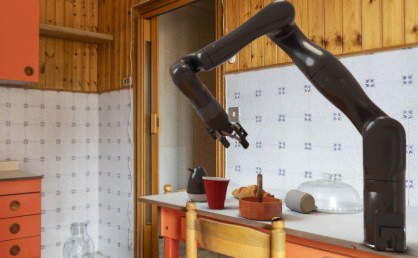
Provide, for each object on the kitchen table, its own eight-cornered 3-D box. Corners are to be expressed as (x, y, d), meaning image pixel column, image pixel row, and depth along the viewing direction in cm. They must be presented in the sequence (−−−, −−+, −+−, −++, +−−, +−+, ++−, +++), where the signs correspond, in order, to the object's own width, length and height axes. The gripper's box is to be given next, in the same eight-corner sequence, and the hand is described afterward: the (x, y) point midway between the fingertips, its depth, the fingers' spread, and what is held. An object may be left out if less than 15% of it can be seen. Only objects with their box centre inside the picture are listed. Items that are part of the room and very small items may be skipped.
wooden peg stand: (268, 217, 136) (267, 174, 136) (252, 216, 138) (251, 174, 138) (267, 213, 141) (267, 173, 141) (252, 213, 143) (252, 172, 143)
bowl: (283, 222, 131) (283, 204, 131) (238, 219, 135) (238, 201, 135) (280, 213, 144) (280, 197, 144) (239, 211, 148) (239, 195, 148)
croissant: (228, 205, 180) (222, 190, 178) (239, 192, 186) (234, 177, 183) (271, 211, 164) (265, 194, 161) (282, 197, 169) (277, 181, 167)
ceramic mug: (301, 214, 142) (301, 192, 142) (284, 210, 150) (284, 189, 150) (323, 212, 146) (323, 191, 146) (305, 208, 154) (305, 188, 154)
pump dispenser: (181, 200, 174) (181, 165, 174) (201, 198, 179) (201, 164, 179) (194, 203, 165) (194, 166, 165) (215, 201, 169) (215, 165, 169)
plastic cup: (236, 209, 153) (236, 177, 153) (212, 211, 149) (212, 179, 149) (220, 204, 163) (220, 175, 163) (197, 206, 159) (197, 176, 159)
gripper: (233, 102, 124) (259, 139, 129) (202, 105, 136) (228, 138, 142) (220, 119, 121) (248, 156, 127) (190, 121, 133) (216, 154, 139)
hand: (237, 146), depth 134 cm, fingers open, 8 cm apart
